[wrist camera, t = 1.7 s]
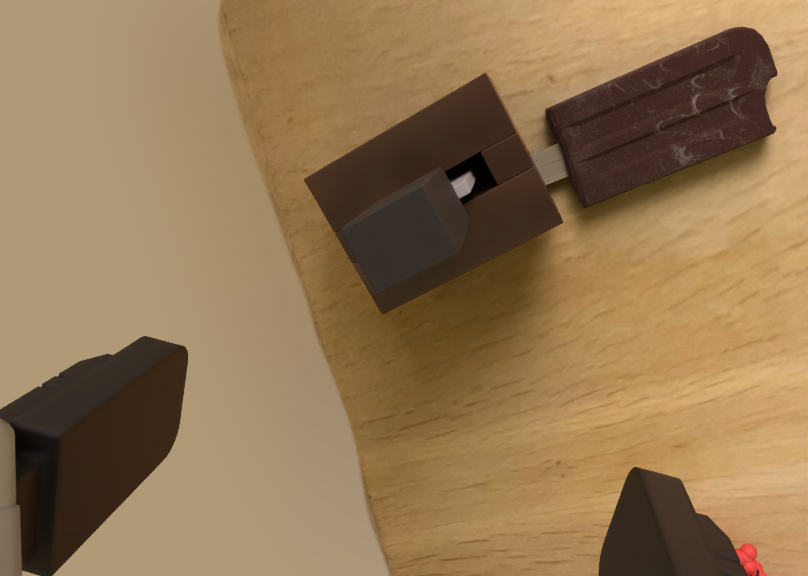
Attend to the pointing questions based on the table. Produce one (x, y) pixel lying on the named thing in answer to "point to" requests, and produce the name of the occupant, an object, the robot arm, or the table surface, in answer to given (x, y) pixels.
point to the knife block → (445, 147)
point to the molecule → (750, 560)
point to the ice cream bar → (661, 117)
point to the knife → (412, 227)
